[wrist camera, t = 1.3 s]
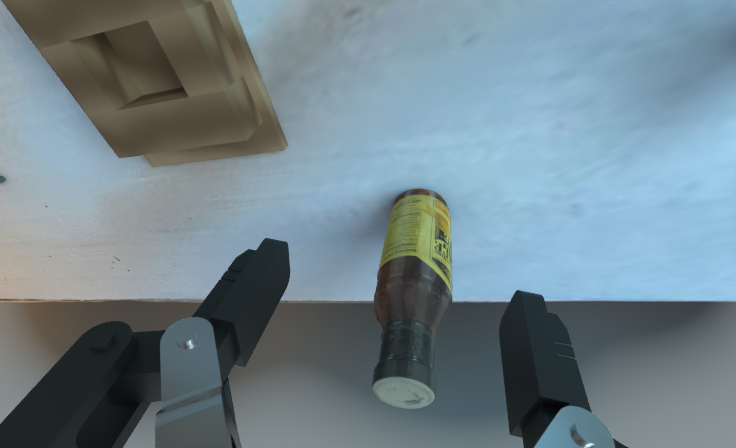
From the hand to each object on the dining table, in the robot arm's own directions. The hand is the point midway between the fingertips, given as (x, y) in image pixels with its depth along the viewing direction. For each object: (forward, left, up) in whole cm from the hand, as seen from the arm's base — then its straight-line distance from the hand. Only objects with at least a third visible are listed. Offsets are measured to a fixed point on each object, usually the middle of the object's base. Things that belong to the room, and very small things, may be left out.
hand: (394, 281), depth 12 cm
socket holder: (-6, -22, -22) cm, 31 cm away
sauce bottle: (+13, -2, -22) cm, 26 cm away
